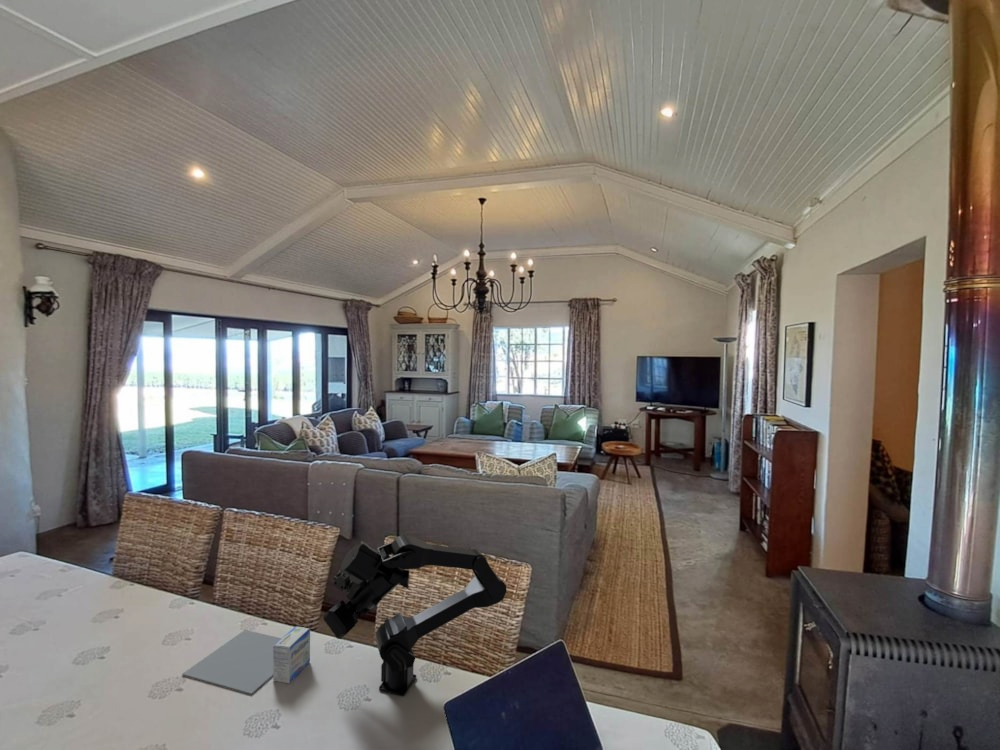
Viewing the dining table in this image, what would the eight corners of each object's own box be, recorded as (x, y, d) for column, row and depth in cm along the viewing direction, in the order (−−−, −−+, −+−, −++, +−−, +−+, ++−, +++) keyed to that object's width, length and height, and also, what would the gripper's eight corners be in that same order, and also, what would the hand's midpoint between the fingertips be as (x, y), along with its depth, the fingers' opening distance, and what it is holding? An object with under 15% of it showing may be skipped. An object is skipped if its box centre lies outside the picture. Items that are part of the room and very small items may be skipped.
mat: (307, 645, 117) (307, 644, 117) (251, 695, 100) (251, 693, 100) (245, 631, 123) (245, 629, 123) (182, 675, 105) (182, 673, 105)
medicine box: (289, 684, 103) (289, 648, 103) (272, 681, 104) (272, 644, 104) (310, 662, 111) (310, 627, 111) (294, 659, 112) (294, 625, 112)
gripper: (378, 541, 113) (339, 577, 117) (331, 575, 95) (287, 617, 99) (406, 577, 111) (366, 612, 115) (363, 618, 93) (317, 659, 97)
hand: (336, 623), depth 106 cm, fingers closed
